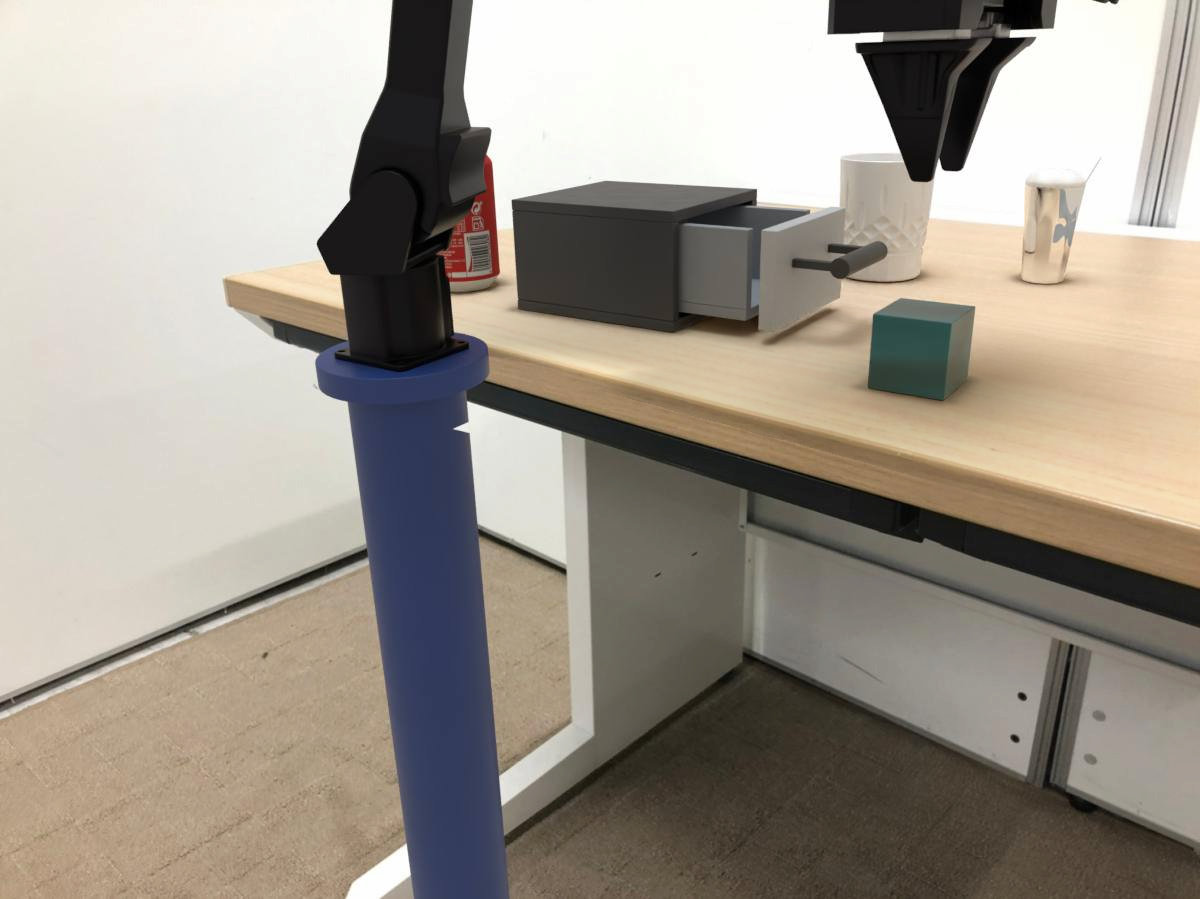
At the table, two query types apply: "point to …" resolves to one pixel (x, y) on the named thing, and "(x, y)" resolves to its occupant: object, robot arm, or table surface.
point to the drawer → (766, 262)
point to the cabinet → (610, 250)
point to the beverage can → (475, 243)
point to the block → (920, 347)
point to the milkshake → (1050, 222)
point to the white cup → (885, 212)
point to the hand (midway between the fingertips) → (937, 176)
